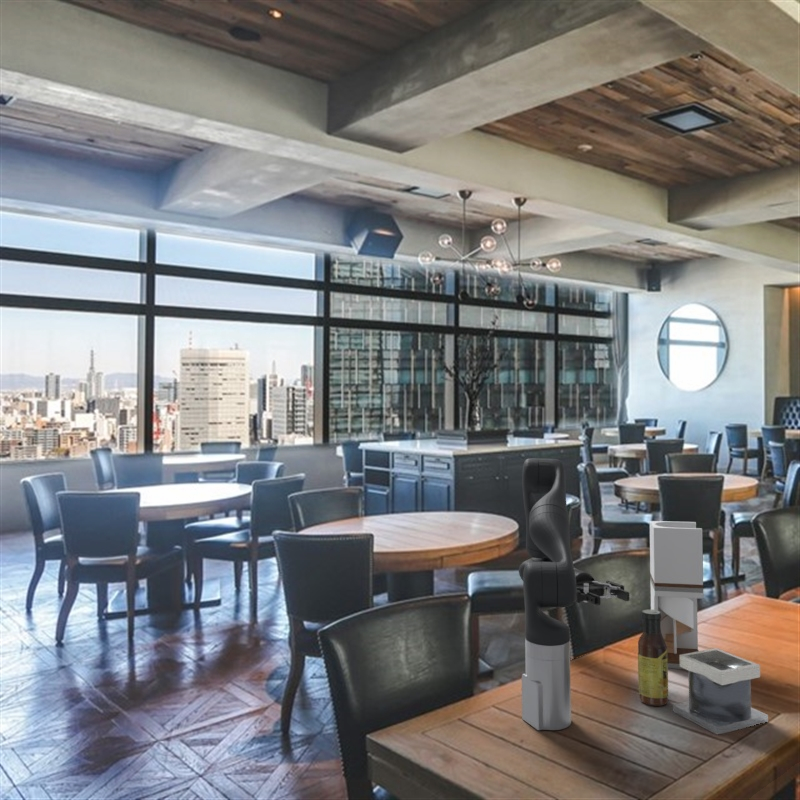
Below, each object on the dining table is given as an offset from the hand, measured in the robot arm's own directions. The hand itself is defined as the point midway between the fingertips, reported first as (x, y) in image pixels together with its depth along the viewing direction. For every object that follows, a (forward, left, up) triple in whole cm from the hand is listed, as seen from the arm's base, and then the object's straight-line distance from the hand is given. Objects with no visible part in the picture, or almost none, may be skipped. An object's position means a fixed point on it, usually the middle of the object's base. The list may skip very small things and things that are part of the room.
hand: (613, 599), depth 173 cm
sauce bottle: (0, -13, -20) cm, 24 cm away
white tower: (+23, +4, -20) cm, 31 cm away
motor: (+7, -25, -20) cm, 33 cm away
